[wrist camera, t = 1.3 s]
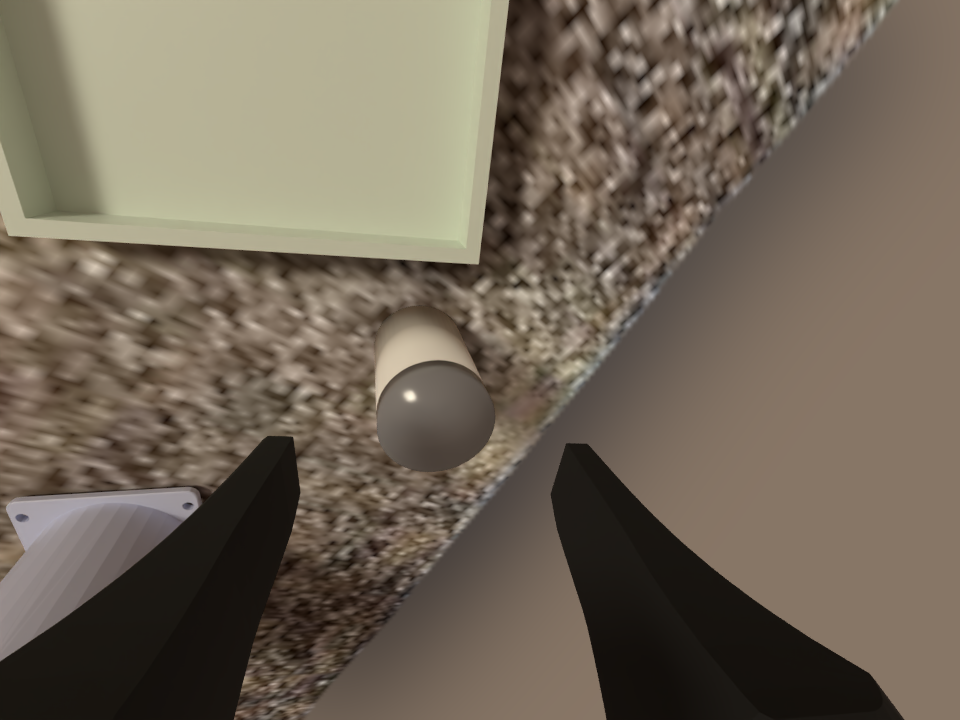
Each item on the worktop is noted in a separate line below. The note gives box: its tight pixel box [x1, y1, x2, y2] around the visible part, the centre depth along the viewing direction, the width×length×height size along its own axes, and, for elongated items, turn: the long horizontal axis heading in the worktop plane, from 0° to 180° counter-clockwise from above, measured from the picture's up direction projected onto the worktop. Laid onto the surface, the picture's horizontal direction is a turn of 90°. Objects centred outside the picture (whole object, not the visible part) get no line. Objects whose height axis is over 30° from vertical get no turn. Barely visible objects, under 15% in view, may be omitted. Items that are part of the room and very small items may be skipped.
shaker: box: [374, 306, 495, 472], centre depth 19 cm, size 4×4×7 cm
